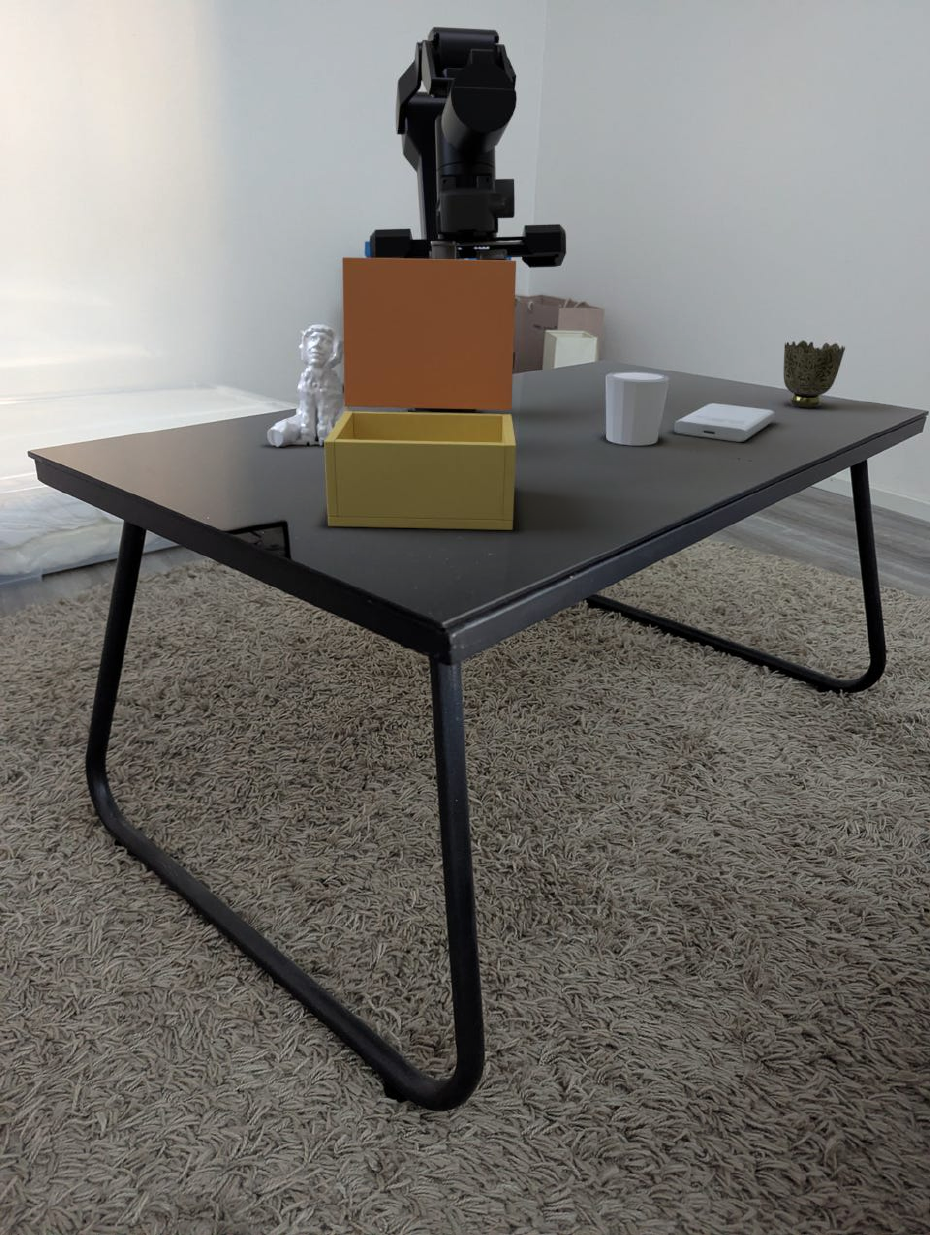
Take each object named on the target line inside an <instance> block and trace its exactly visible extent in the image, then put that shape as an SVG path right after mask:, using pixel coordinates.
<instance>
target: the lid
mask: <svg viewBox="0 0 930 1235" xmlns="http://www.w3.org/2000/svg"><path fill="white" fill-rule="evenodd" d="M341 259H342V260H341V262H342V264H341V265H342V328H343V329H342V330H343V331H342V336H343V338H342V339H343V343H344V354H343V394H344V396H343V399H344V406H345V407H348V408H350V407H351V408H393V409H394V408H395V409H396V408H397V409H398V408H399V409H409V408H443V409H476V410H492V411H493V410H496V411H497V410H498V411H499V410H502V411H503V410H504V411H512V405H513V404H512V403H513V378H514V377H513V376H514V375H513V372H514V347H515V346H514V342H515V341H514V340H515V315H516V314H515V312H516V280H517V278H516V277H517V276H516V275H517V273H516V272H517V260H510V259H509V260H507V259H506V260H476V259H459V260H456V259H404V258H370V257H350V256H348V257H347V256H346V257H344V256H343V257H342V258H341Z"/></svg>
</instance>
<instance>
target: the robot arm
mask: <svg viewBox="0 0 930 1235" xmlns="http://www.w3.org/2000/svg"><path fill="white" fill-rule="evenodd" d="M516 83H517V74H516V72H515V69H514V67H513V65H512V62H511V59H510V58H509V56H508V54H507V49H506V46H505V44H504V43H503V44H502V43H500V35H499V33H498V31H497V30H496V29H486V28H485V29H484V28H466V27H465V28H463V27H445V26H433V27H432V28H431V29H430V31H429V33H428V35H427V39H423V40H422V41H416V44H415V51H414V60H413V61H412V63H411V64H410V65H409V66H408V67H407V68H406V70H405V71H404V73H402V75H401V76H400V77H399V78H398V80H397V85H396V86H397V87H396V100H395V133H396V135H400V136H401V149H402V155H403V157H404V159H405V160H406V161H407V162H408V164H409V165H410V166H411V168H413V170H414V171H415V172H416V179H417V180H416V181H417V193H418V194H417V196H418V211H419V224H420V238H419V239H418V238H415V239H414V238H413V235H412V234H413V233H412V230H411V228H383V229H381V228H379V229H374V231H373V232H372V233H371V235H369V258H404V259H456V260H473V259H475V260H507V258H521V261H522V262H523V263H524V264H525V265H526V266H527V267H528V268H530V269H532V268H533V269H534V268H556V267H560V266H562V265H563V262H564V259H565V256H566V255H567V232H566V230H565V228H564V227H563V226H562V225H561V224H560V223H556V224H555V223H552V224H551V223H550V224H525V225H524V227H523V231H522V235H520V236H519V235H517V236H498V233H499V219H514V218H515V213H516V212H515V211H516V209H515V202H516V201H515V179H514V178H496V177H497V176H496V174H497V172H496V147H497V145H499V143H500V141H501V139H502V137H503V135H504V133H505V131H506V129H507V128H508V126H509V123H510V122H511V120H512V118H513V116H514V114H515V112H516V108H517V99H518V98H517V91H516ZM422 84H423V86H424V88H425V91H419V90H420V89H421V88H422ZM407 412H436V413H475V412H477V409H443V408H407Z"/></svg>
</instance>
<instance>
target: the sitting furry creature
mask: <svg viewBox="0 0 930 1235" xmlns="http://www.w3.org/2000/svg"><path fill="white" fill-rule="evenodd" d="M299 333H300V335H301V336H302V337H301V343H300V344H299V346H298V350H299V351H300V354H301V357H300V360H301V361H302V362H303V363H304V364H305V365H306V368H305V370H304V371H303V372H302V373H300V380H299V381H298V385H297V389H296V394H297V397H298V399H299V406H298V407H297V408H296V409H295V414H294V415H293V416H290V417H288V418H284V419H282V420H279V421H277V422H275V424H274V425H273V426H271V428H268V430H267V432H266V438H267V440H268V442H269V444H270V445H272V446H275V447H276V448H281V447H286V446H290V445H296V446H297V445H303V446H307V444H309V446H314V445H319V446H321V447H323V446H324V441H325V440H326V438H327V437H328V435H329V434H330V432H331V431H332V429H333V428H334V427H335V425H336V424H337V422H338V421H339V419H340V418H341V416H342V415H343V413H344V412H345V411H350V409H349V407H345V406H344V386H343V383H342V382H341V377H340V376H338V372H337V370H335V369H334V368H335V367H337V365H340V364H342V359H343V358H344V343H343V338H341V336H340V334H339V332H338V331H337V330H336V329H335V328H332V327H330V326H329V325H326V324H325V323H321V324H318V323H316V324H313V325H310V326H309V327H308V328H307V329H305V330H300V332H299ZM316 440H318V441H316Z"/></svg>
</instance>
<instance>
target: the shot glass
mask: <svg viewBox="0 0 930 1235" xmlns="http://www.w3.org/2000/svg"><path fill="white" fill-rule="evenodd" d="M670 381H671V379H670V377H669V376H667V375H665V374H660V373H655V372H649V371H637V370H634V371H633V370H626V371H614V372H610V373H607V374H606V375H605V436H606V440H607V441H608V442H611V443H613V444H616V445H617V444H618V445H622V446H623V445H625V446H650V445H653V444H654V445H655V444H656V443H658V440H659V436H660V435H659V434H660V429H661V424H662V419H663V414H664V409H665V405H666V404H665V403H666V399H667V394H668V389H669V385H670Z"/></svg>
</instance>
